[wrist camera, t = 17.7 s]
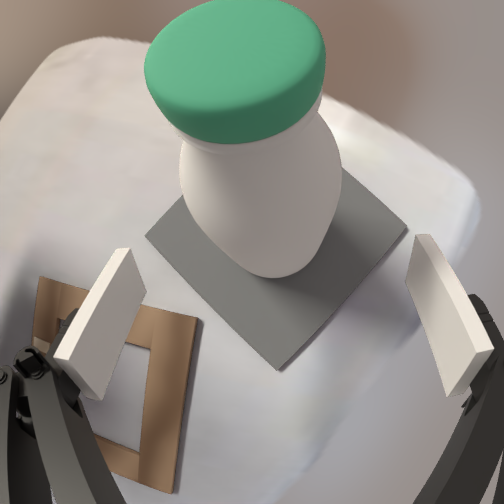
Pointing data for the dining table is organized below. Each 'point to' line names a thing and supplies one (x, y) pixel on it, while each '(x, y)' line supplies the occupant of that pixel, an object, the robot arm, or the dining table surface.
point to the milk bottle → (250, 128)
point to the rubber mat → (284, 288)
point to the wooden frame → (157, 386)
